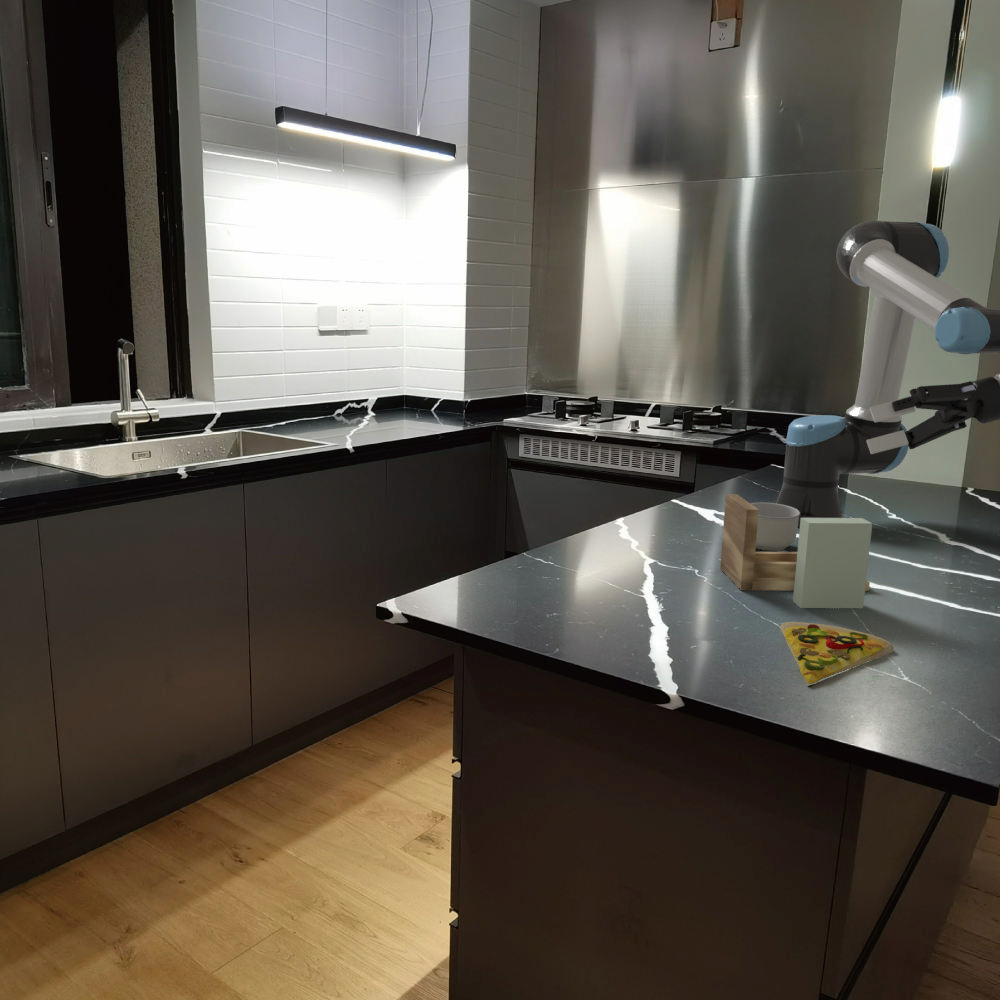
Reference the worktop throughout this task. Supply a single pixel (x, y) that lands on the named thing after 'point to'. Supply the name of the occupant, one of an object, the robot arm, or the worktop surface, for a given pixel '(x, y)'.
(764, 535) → the teacup
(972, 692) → the worktop surface
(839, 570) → the pale green block
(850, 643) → the pizza slice
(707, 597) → the worktop surface
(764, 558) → the track
